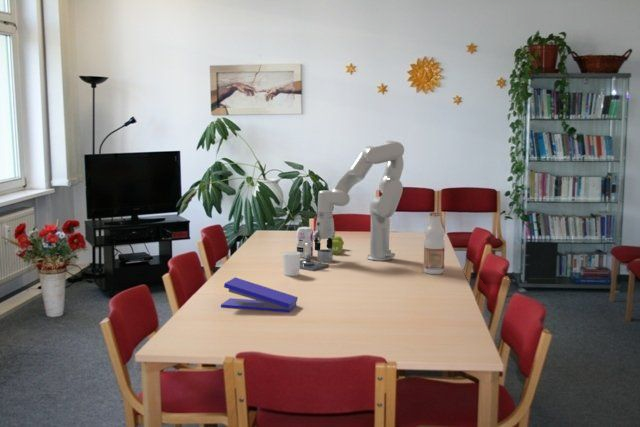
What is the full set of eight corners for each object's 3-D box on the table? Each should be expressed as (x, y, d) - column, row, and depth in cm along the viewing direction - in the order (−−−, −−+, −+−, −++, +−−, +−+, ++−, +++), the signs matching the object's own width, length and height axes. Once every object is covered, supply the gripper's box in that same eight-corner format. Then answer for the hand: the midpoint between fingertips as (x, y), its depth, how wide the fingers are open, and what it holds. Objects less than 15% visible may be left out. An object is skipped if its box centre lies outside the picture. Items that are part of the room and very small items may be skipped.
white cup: (298, 276, 334) (298, 255, 332) (281, 276, 335) (281, 254, 334) (301, 273, 341) (302, 251, 340) (285, 272, 343) (285, 251, 341)
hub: (335, 260, 369) (335, 250, 369) (326, 262, 364) (326, 252, 363) (323, 258, 374) (323, 248, 373) (314, 260, 368) (315, 250, 368)
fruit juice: (419, 271, 346) (420, 212, 342) (434, 269, 351) (436, 211, 347) (432, 275, 338) (434, 215, 334) (448, 273, 343) (450, 213, 339)
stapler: (230, 300, 293) (230, 276, 292) (298, 305, 287) (298, 281, 285) (219, 308, 282) (219, 283, 281) (290, 313, 276) (290, 288, 274)
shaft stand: (328, 266, 355) (328, 243, 353) (313, 270, 346) (313, 247, 344) (303, 262, 365) (303, 239, 363) (287, 266, 355) (287, 243, 354)
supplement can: (313, 255, 382) (313, 226, 380) (311, 258, 374) (311, 229, 372) (297, 254, 383) (298, 226, 381) (295, 258, 375) (295, 229, 372)
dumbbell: (342, 255, 384) (342, 241, 383) (327, 254, 384) (327, 241, 383) (344, 249, 400) (344, 236, 399) (329, 248, 401) (329, 235, 400)
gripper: (320, 217, 356) (318, 252, 359) (341, 214, 370) (339, 248, 372) (308, 215, 361) (306, 250, 363) (329, 213, 375) (328, 246, 377)
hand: (323, 249), depth 368 cm, fingers open, 9 cm apart
